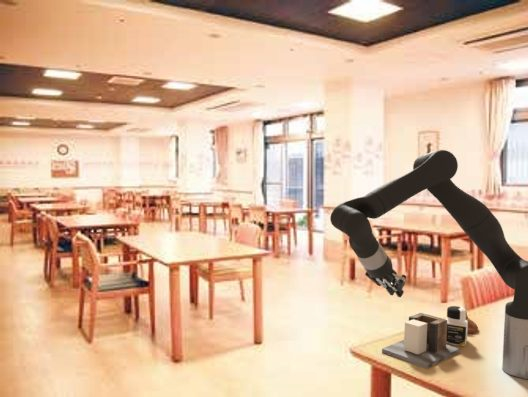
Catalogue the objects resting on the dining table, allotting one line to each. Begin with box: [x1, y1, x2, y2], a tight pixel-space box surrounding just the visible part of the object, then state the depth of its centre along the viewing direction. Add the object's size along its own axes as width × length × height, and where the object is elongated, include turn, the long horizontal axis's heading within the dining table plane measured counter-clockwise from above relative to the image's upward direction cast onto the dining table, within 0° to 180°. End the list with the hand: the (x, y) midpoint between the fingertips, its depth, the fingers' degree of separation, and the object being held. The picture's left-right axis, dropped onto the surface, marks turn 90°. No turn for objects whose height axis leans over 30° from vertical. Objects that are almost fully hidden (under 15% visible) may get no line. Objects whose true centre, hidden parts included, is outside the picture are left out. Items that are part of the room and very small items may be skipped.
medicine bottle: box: [445, 305, 468, 347], centre depth 164 cm, size 7×7×12 cm
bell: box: [466, 311, 479, 335], centre depth 177 cm, size 12×12×7 cm
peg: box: [403, 319, 427, 355], centre depth 151 cm, size 5×5×9 cm
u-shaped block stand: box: [381, 312, 460, 369], centre depth 154 cm, size 20×16×10 cm
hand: (396, 293), depth 143 cm, fingers closed
